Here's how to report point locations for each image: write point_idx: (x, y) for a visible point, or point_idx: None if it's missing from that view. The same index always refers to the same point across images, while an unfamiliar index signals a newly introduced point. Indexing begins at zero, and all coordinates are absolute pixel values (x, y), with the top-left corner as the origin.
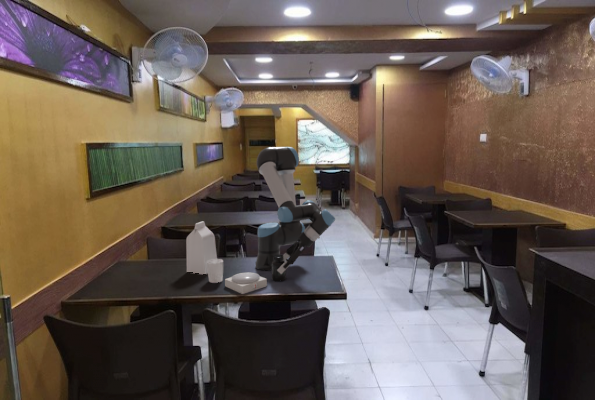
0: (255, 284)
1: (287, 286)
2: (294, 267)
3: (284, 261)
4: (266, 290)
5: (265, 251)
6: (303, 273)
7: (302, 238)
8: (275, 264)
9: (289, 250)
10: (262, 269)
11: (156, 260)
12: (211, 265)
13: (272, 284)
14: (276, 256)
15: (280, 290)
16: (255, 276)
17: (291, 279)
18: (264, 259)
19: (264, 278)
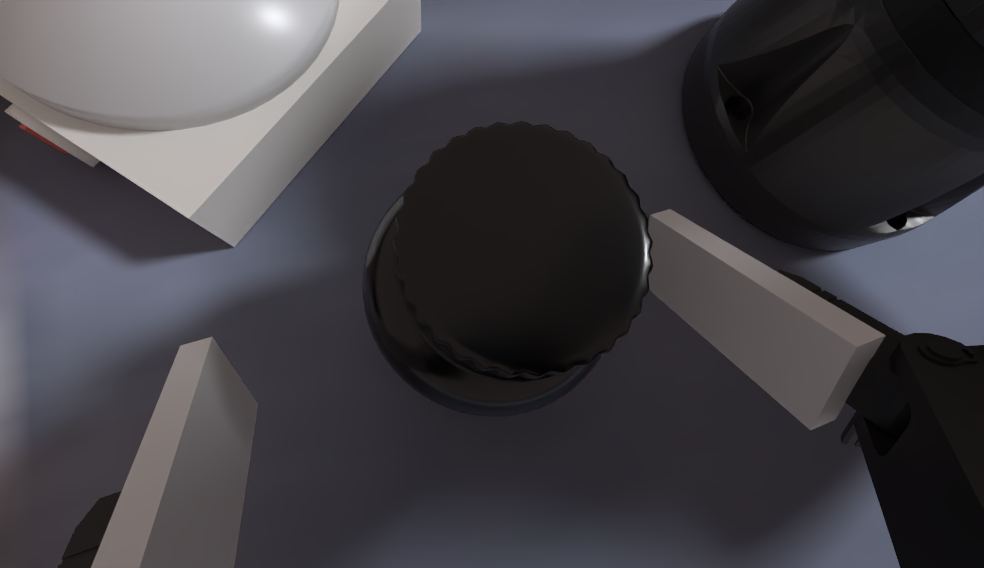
0: (24, 129)
1: (253, 485)
2: None
3: (540, 390)
4: (90, 280)
5: None
6: (718, 533)
7: None
8: (370, 251)
9: (954, 479)
10: (687, 83)
11: None
12: None
13: (300, 291)
14: (472, 201)
15: (99, 443)
16: (172, 61)
17: (498, 456)
18: (786, 25)
19: (201, 187)
